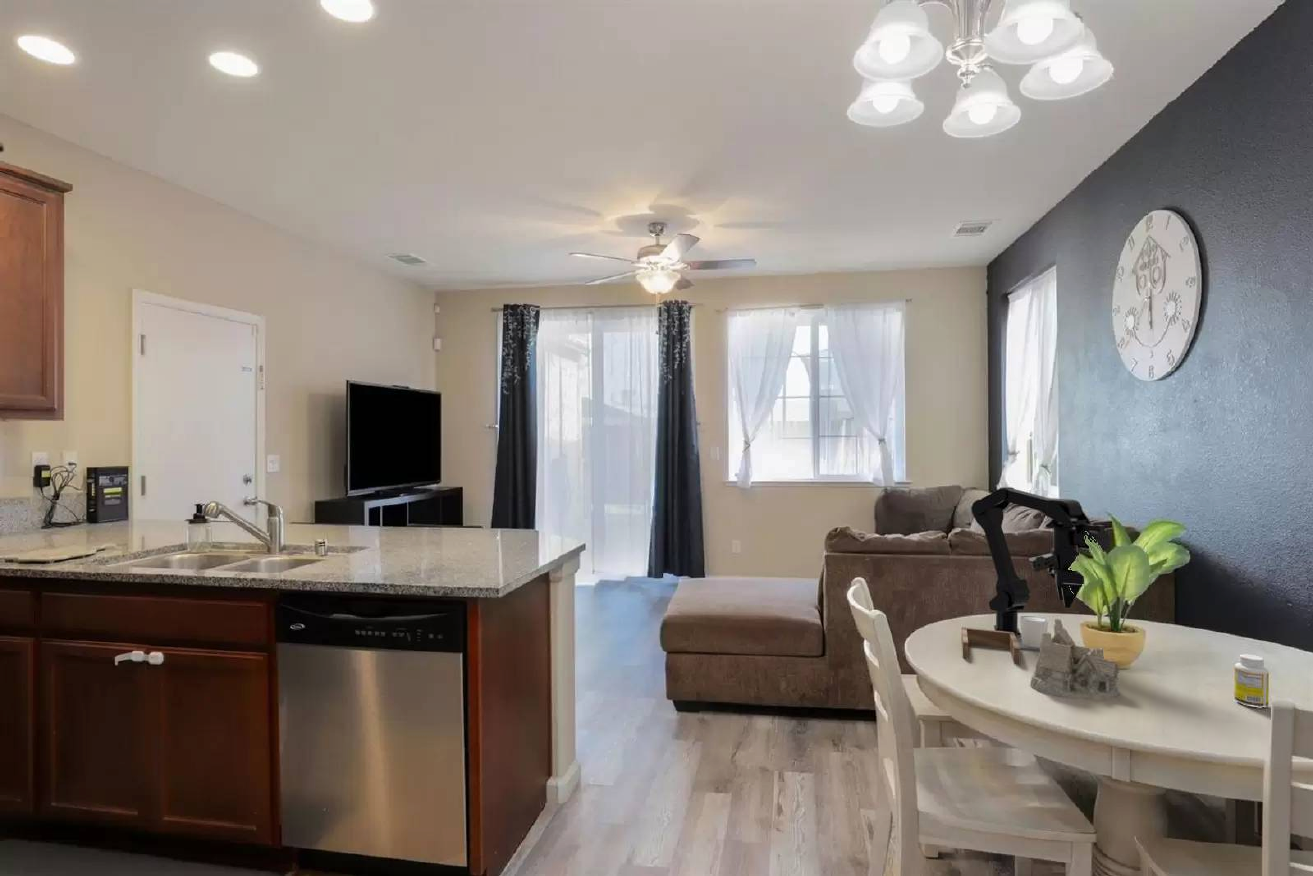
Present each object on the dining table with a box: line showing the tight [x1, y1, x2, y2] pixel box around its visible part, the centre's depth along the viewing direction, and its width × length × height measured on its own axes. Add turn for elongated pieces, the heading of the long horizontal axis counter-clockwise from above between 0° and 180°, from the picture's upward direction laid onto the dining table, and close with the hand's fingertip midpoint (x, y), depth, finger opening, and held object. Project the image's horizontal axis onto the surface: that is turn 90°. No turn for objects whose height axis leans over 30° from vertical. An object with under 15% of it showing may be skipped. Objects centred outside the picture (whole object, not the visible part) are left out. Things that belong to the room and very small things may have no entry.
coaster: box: [1016, 637, 1040, 653], centre depth 189 cm, size 9×9×1 cm
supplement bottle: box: [1234, 653, 1270, 707], centre depth 149 cm, size 6×6×10 cm
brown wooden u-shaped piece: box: [961, 626, 1021, 665], centre depth 183 cm, size 16×13×4 cm
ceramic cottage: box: [1029, 618, 1120, 700], centre depth 157 cm, size 16×16×15 cm
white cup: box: [1019, 615, 1049, 648], centre depth 189 cm, size 7×7×7 cm
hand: (1064, 603), depth 188 cm, fingers open, 9 cm apart
